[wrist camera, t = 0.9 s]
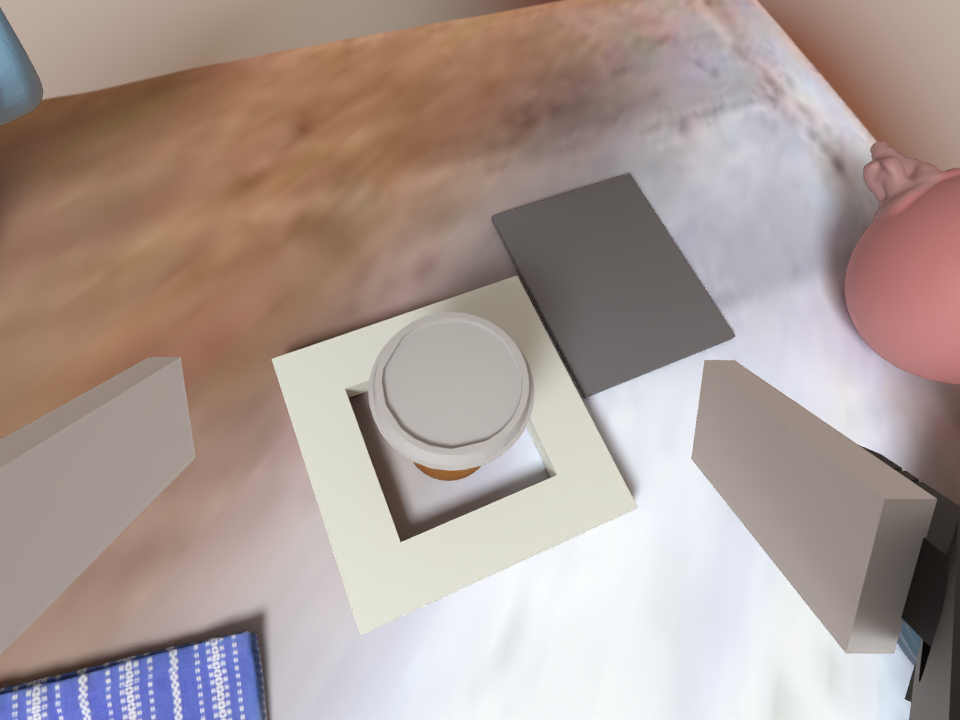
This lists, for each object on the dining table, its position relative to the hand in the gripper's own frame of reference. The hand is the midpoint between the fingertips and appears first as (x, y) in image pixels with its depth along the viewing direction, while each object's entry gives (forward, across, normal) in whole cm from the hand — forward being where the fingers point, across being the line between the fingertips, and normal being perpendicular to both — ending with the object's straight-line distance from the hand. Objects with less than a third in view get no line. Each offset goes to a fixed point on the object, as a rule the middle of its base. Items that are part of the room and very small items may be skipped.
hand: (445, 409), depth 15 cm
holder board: (+26, -1, -13) cm, 29 cm away
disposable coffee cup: (+26, -1, -13) cm, 29 cm away
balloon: (+35, +36, -5) cm, 51 cm away
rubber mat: (+36, +12, -2) cm, 38 cm away
